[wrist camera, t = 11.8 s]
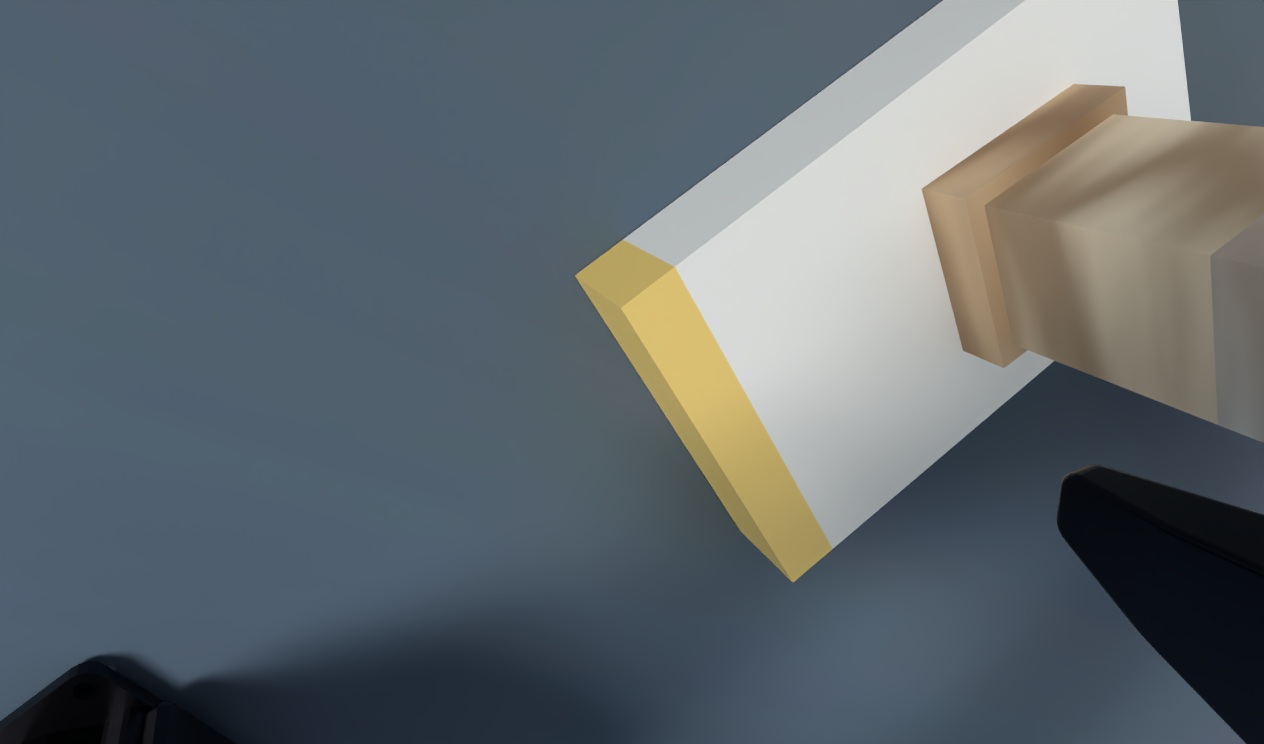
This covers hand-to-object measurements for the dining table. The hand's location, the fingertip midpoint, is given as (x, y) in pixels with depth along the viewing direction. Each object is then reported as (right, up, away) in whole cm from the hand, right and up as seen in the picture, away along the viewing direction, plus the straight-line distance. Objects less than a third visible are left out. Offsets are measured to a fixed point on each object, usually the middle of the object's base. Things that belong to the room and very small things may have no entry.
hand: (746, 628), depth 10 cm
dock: (+7, +7, +15) cm, 18 cm away
